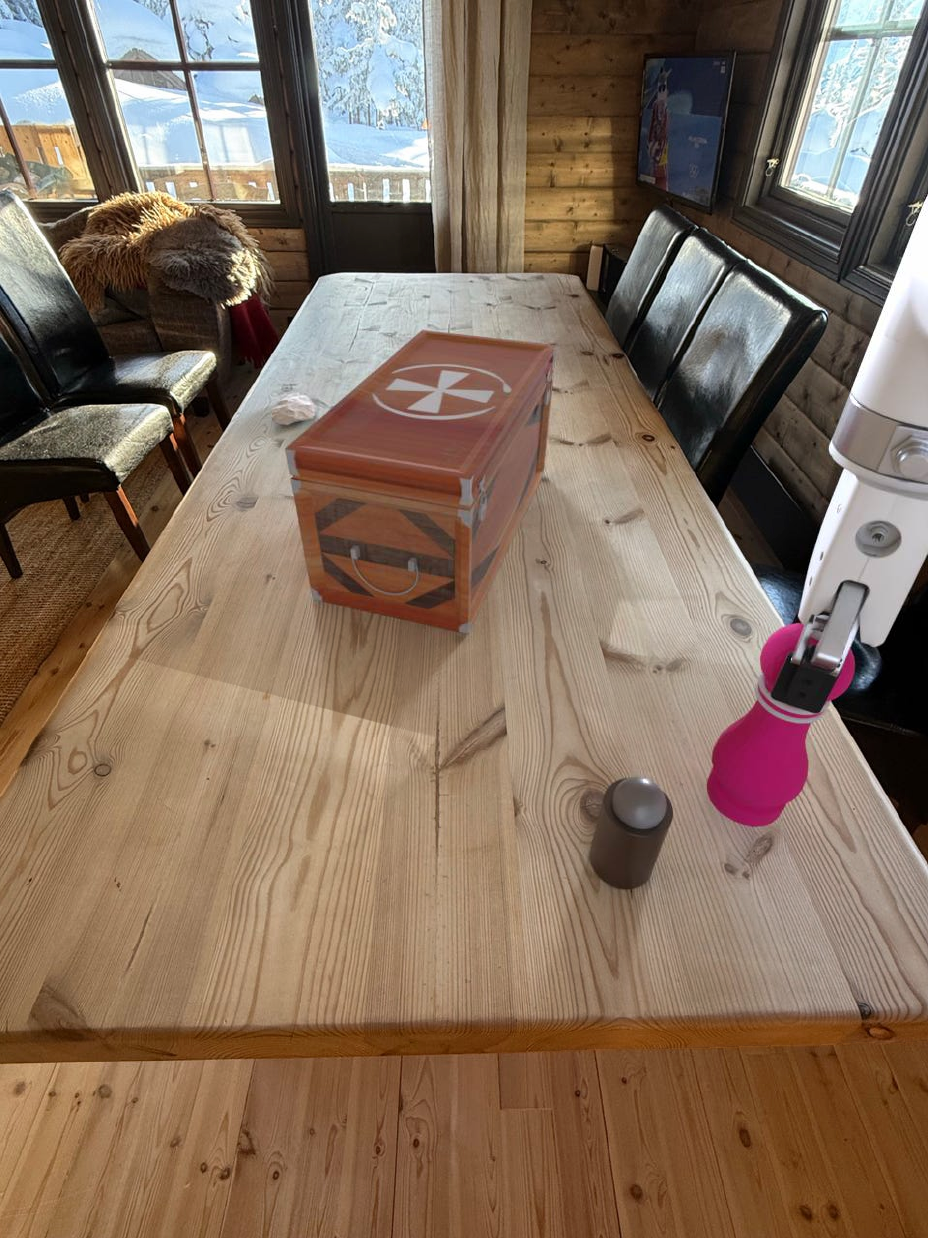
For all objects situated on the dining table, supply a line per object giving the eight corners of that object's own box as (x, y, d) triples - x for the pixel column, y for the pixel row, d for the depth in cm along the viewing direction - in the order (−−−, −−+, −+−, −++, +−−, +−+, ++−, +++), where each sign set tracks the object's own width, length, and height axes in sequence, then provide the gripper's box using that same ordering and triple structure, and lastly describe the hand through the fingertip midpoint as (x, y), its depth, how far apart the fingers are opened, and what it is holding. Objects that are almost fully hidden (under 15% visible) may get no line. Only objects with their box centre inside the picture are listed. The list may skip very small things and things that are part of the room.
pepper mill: (695, 758, 60) (760, 581, 47) (777, 767, 59) (866, 590, 46) (706, 827, 54) (783, 649, 42) (797, 838, 54) (904, 660, 41)
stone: (269, 429, 116) (266, 418, 115) (278, 397, 127) (276, 387, 125) (314, 427, 117) (312, 416, 116) (319, 396, 127) (318, 386, 126)
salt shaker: (660, 849, 56) (688, 776, 49) (641, 901, 52) (668, 831, 46) (602, 822, 58) (621, 749, 51) (580, 871, 54) (598, 799, 48)
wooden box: (546, 473, 105) (559, 344, 92) (470, 636, 76) (473, 481, 63) (426, 453, 110) (422, 328, 97) (310, 600, 80) (282, 449, 67)
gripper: (1004, 529, 29) (846, 781, 40) (985, 398, 40) (867, 623, 52) (819, 487, 31) (721, 734, 43) (851, 376, 43) (767, 594, 55)
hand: (802, 671), depth 47 cm, fingers closed on pepper mill, 6 cm apart
